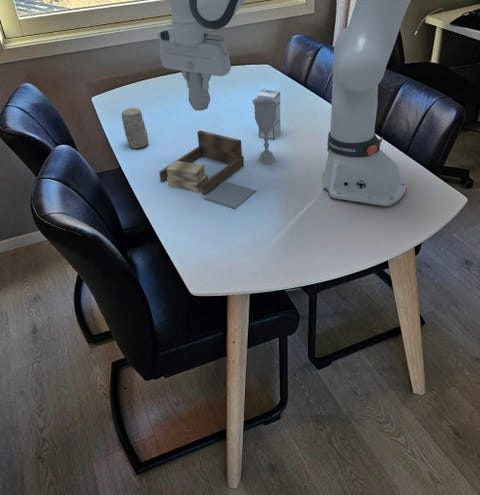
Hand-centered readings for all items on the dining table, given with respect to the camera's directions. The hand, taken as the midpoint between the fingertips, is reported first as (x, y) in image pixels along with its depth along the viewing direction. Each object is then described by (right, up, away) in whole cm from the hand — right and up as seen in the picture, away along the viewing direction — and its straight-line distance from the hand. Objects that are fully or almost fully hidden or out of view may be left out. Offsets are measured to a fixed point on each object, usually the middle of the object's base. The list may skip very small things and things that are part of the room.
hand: (198, 88), depth 127 cm
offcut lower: (-4, -24, +10) cm, 26 cm away
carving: (-22, -9, +31) cm, 39 cm away
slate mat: (+8, -28, +3) cm, 29 cm away
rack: (0, -20, +14) cm, 24 cm away
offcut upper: (-4, -22, +8) cm, 23 cm away
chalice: (+19, -16, +18) cm, 31 cm away
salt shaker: (0, -4, +3) cm, 5 cm away
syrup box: (+21, -5, +32) cm, 38 cm away
